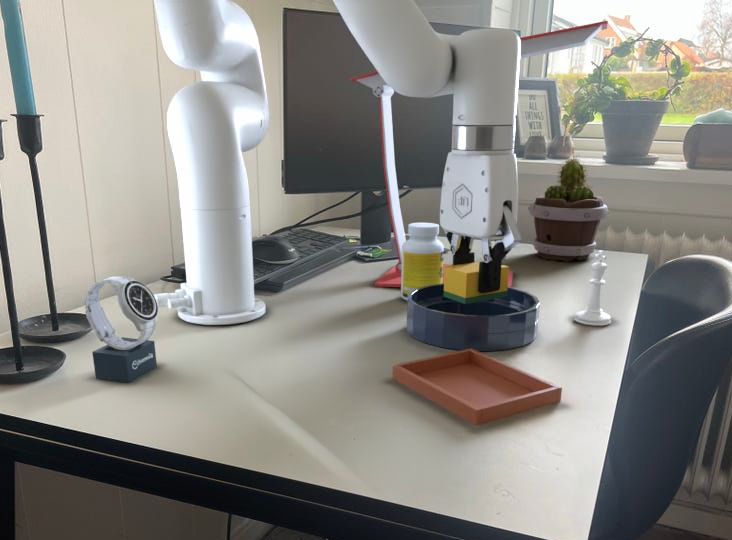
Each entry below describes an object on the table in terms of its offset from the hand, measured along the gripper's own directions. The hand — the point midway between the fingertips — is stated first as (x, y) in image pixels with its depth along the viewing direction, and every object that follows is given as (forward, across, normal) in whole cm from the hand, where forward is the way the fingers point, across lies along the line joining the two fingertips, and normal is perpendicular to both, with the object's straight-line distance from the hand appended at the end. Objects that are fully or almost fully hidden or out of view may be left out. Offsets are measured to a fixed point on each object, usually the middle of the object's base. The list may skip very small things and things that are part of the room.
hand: (475, 285), depth 92 cm
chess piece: (+7, +4, +19) cm, 20 cm away
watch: (+6, -9, -43) cm, 45 cm away
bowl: (+7, 0, 0) cm, 7 cm away
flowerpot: (+7, -30, +49) cm, 58 cm away
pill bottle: (+7, -18, +5) cm, 20 cm away
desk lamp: (+7, -24, +18) cm, 31 cm away
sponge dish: (+7, +16, -13) cm, 22 cm away
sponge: (+1, 0, 0) cm, 1 cm away
